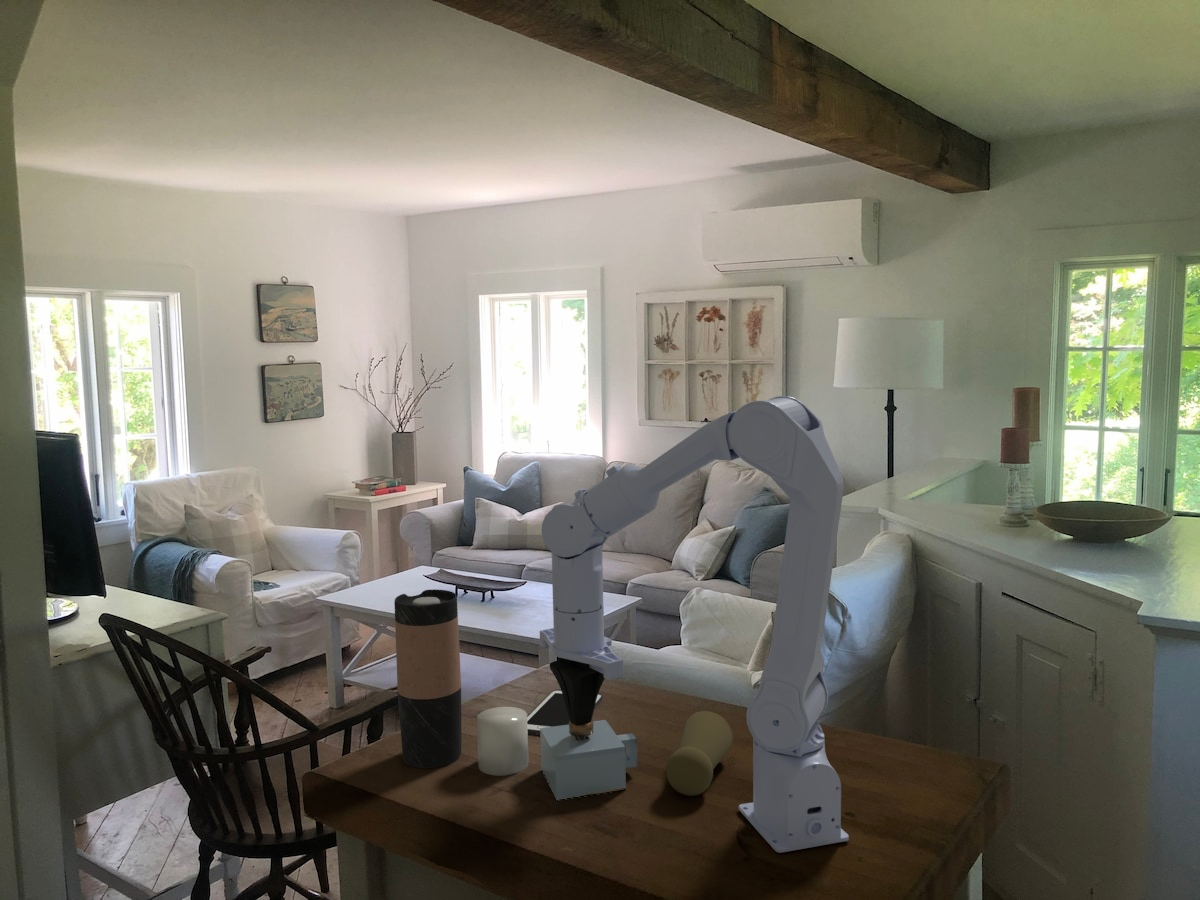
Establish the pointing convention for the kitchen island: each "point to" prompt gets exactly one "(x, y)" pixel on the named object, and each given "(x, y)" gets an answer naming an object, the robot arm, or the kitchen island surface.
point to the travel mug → (428, 677)
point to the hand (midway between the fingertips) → (580, 722)
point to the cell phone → (551, 712)
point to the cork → (698, 752)
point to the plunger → (581, 730)
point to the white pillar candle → (502, 740)
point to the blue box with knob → (586, 760)
